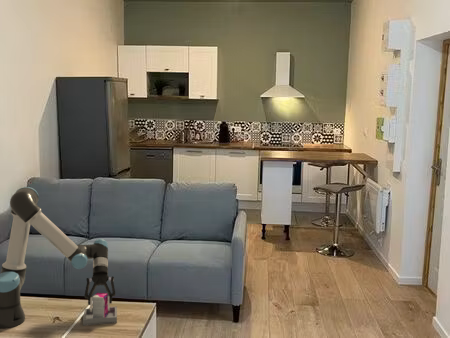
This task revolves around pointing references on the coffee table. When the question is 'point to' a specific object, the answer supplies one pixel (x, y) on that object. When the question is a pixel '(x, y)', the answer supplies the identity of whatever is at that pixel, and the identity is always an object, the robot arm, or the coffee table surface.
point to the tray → (108, 319)
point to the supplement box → (100, 305)
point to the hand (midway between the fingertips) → (99, 310)
